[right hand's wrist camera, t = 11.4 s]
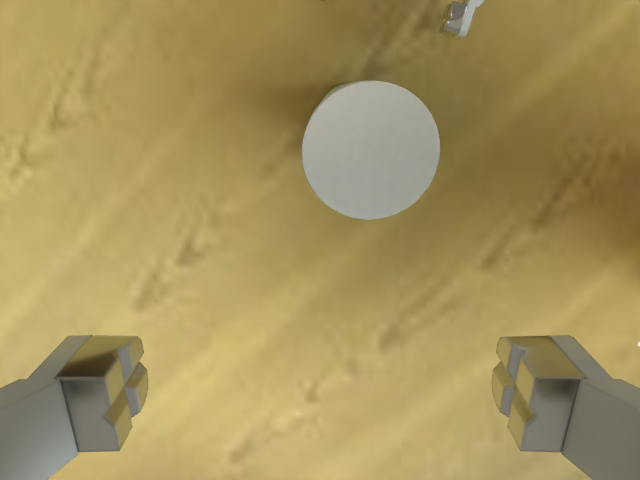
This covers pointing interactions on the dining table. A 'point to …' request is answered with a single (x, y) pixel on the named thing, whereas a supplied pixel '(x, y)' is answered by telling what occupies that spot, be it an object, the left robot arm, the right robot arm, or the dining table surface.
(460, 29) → the left robot arm
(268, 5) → the dining table surface
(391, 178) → the lid
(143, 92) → the dining table surface
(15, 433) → the right robot arm
